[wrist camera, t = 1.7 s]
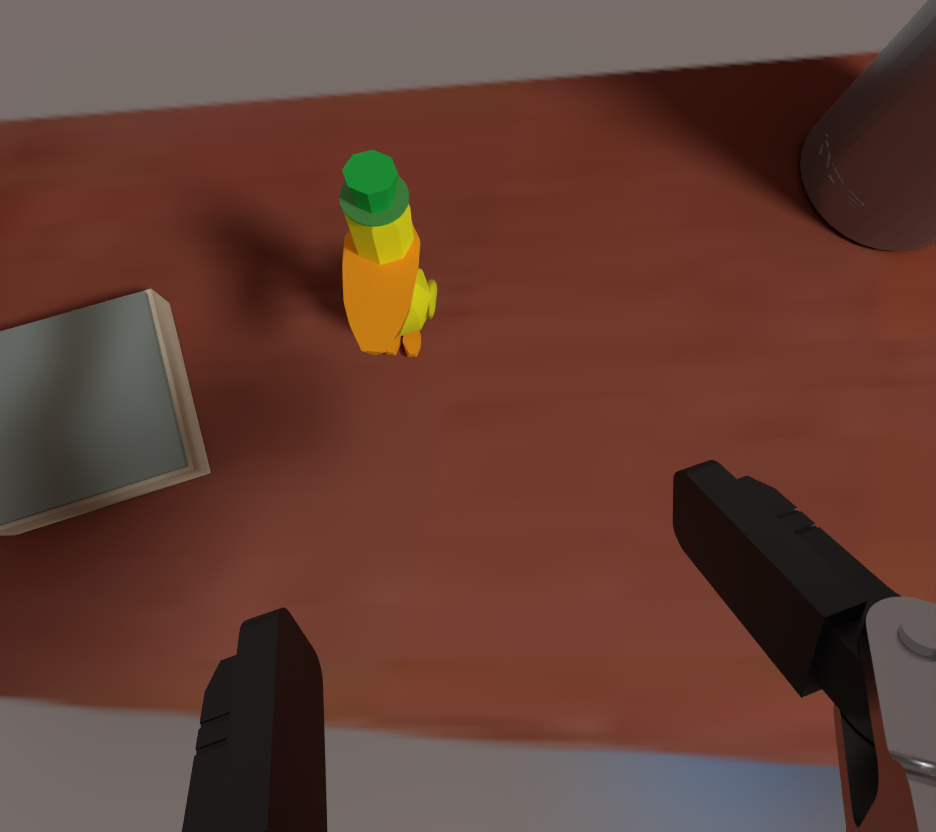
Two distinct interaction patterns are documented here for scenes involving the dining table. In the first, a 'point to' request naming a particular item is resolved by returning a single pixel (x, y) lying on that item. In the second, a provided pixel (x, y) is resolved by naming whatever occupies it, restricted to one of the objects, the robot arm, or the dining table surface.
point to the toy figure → (382, 259)
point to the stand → (93, 411)
